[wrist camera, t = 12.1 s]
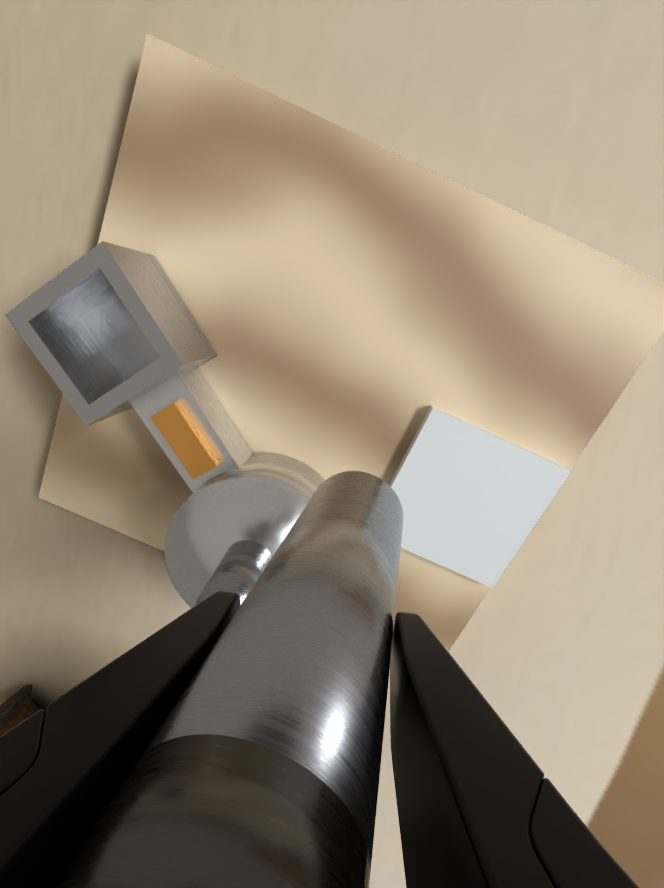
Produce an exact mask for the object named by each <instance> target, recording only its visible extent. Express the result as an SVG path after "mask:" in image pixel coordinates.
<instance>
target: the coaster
mask: <svg viewBox="0 0 664 888" xmlns="http://www.w3.org/2000/svg"><path fill="white" fill-rule="evenodd" d="M569 473H570V470H568V469H567V468H566V467H565V466H563V465H560V464H558V463H556V462H554V461H552V460H549V459H547V458H545V457H543V456H541V455H538V454H536V453H534V452H532V451H530V450H528V449H525V448H523V447H521V446H519V445H517V444H514V443H512V442H510V441H508V440H506V439H503V438H501V437H499V436H497V435H495V434H492V433H490V432H488V431H486V430H484V429H482V428H479V427H477V426H475V425H473V424H471V423H468V422H466V421H464V420H462V419H460V418H457V417H455V416H453V415H451V414H449V413H447V412H444V411H442V410H440V409H438V408H436V407H433V406H430V408H429V410H428V412H427V414H426V416H425V417H424V419H423V421H422V423H421V425H420V427H419V429H418V431H417V433H416V435H415V436H414V438H413V440H412V442H411V444H410V446H409V448H408V450H407V452H406V453H405V455H404V457H403V459H402V461H401V463H400V465H399V467H398V469H397V471H396V472H395V474H394V476H393V478H392V480H391V482H390V484H389V486H390V487H391V488H392V489H393V490H394V492H395V493H396V494H397V496H398V498H399V500H400V502H401V505H402V509H403V531H402V541H401V548H403V549H405V550H407V551H409V552H412V553H414V554H416V555H418V556H421V557H423V558H425V559H428V560H430V561H432V562H434V563H437V564H439V565H441V566H443V567H446V568H448V569H450V570H453V571H455V572H457V573H459V574H462V575H464V576H466V577H468V578H471V579H473V580H475V581H478V582H480V583H482V584H484V585H487V586H489V587H491V588H492V587H493V586H494V584H495V583H496V581H497V580H498V578H499V577H500V576H501V574H502V573H503V571H504V570H505V568H506V567H507V565H508V564H509V562H510V561H511V559H512V558H513V556H514V555H515V553H516V552H517V550H518V549H519V547H520V546H521V544H522V543H523V541H524V540H525V538H526V537H527V535H528V534H529V532H530V531H531V529H532V528H533V526H534V525H535V523H536V522H537V520H538V519H539V517H540V516H541V515H542V513H543V512H544V510H545V509H546V507H547V506H548V504H549V503H550V501H551V500H552V498H553V497H554V495H555V494H556V492H557V491H558V489H559V488H560V486H561V485H562V483H563V482H564V480H565V479H566V477H567V476H568V474H569Z"/></svg>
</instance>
